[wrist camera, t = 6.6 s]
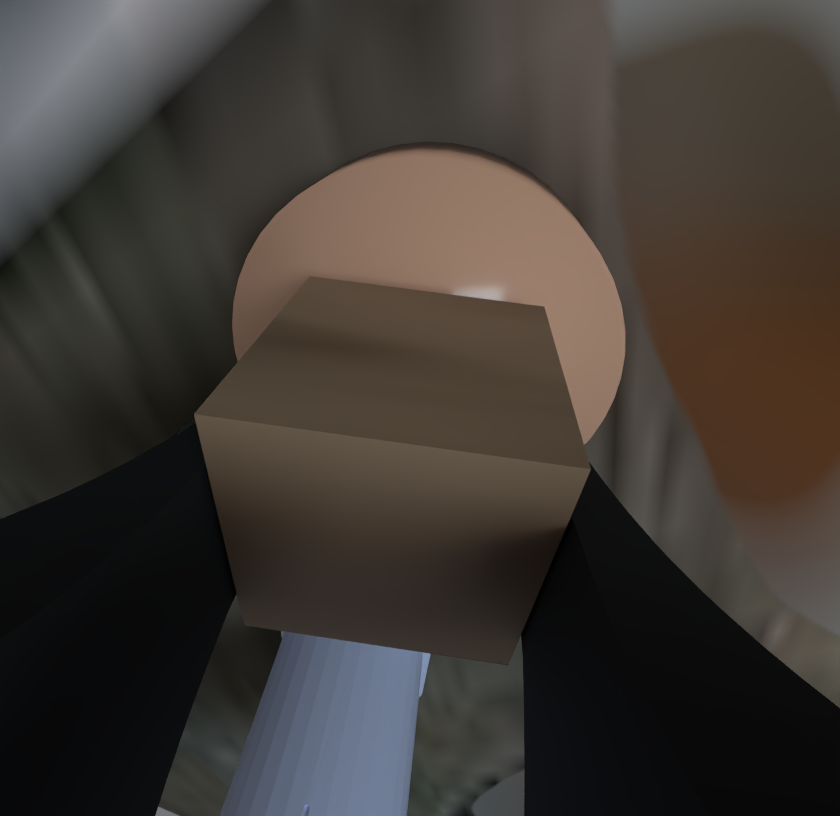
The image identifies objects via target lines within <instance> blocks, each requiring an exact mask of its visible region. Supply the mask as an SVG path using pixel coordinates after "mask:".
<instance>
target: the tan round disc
mask: <svg viewBox="0 0 840 816" xmlns="http://www.w3.org/2000/svg"><path fill="white" fill-rule="evenodd" d="M310 276H312V277H320V278H328V279H336V280H343V281H351V282H359V283H366V284H374V285H382V286H390V287H397V288H405V289H413V290H420V291H428V292H436V293H444V294H451V295H459V296H467V297H474V298H482V299H490V300H498V301H505V302H513V303H521V304H528V305H536V306H544V307H545V311H546V314H547V318H548V321H549V325H550V328H551V332H552V335H553V339H554V342H555V346H556V349H557V353H558V356H559V360H560V363H561V367H562V370H563V374H564V377H565V380H566V384H567V387H568V391H569V394H570V398H571V401H572V405H573V408H574V412H575V415H576V419H577V422H578V426H579V429H580V433H581V436H582V440H583V443H584V445H585V444H586V443H587V442H588V440H589V439H590V438H591V437H592V436H593V434H594V433H595V431H596V430H597V428H598V427H599V426H600V424H601V423H602V421H603V420H604V418H605V416H606V414H607V412H608V410H609V408H610V406H611V404H612V402H613V400H614V398H615V394H616V391H617V388H618V385H619V382H620V379H621V375H622V369H623V363H624V357H625V325H624V318H623V312H622V305H621V302H620V299H619V295H618V292H617V289H616V286H615V283H614V280H613V278H612V276H611V274H610V272H609V270H608V268H607V266H606V264H605V262H604V260H603V258H602V256H601V254H600V253H599V251H598V250H597V248H596V247H595V245H594V243H593V242H592V240H591V239H590V237H589V236H588V234H587V233H586V231H585V230H584V228H583V227H582V225H581V224H580V222H579V221H578V220H577V218H576V217H575V215H574V214H573V213H572V211H571V210H570V209H569V207H568V206H567V204H566V203H565V202H564V201H563V200H562V199H561V198H560V197H559V196H558V195H557V194H556V193H555V192H554V191H553V190H552V189H551V188H550V187H549V186H548V185H547V184H545V183H544V182H543V181H541V180H540V179H539V178H537V177H536V176H535V175H533V174H532V173H531V172H529V171H528V170H526V169H524V168H523V167H521V166H519V165H517V164H515V163H513V162H511V161H510V160H508V159H506V158H504V157H501V156H498V155H496V154H493V153H490V152H487V151H484V150H482V149H479V148H474V147H469V146H464V145H459V144H454V143H438V142H419V143H410V144H401V145H396V146H392V147H388V148H384V149H380V150H377V151H373V152H371V153H368V154H366V155H364V156H361V157H359V158H357V159H355V160H352V161H350V162H348V163H347V164H345V165H344V166H342V167H340V168H339V169H337V170H336V171H334V172H332V173H331V174H329V175H328V176H326V177H325V178H323V179H322V180H320V181H319V182H317V183H316V184H314V185H312V186H311V187H309V188H308V189H306V190H305V191H303V192H302V193H300V194H299V195H297V196H296V197H295V198H294V199H293V200H292V201H290V202H289V203H288V204H287V205H286V206H285V207H284V208H283V209H281V210H280V211H279V212H278V213H277V214H276V215H275V216H274V217H273V219H272V220H271V221H270V222H269V224H268V225H267V226H266V227H265V228H264V230H263V231H262V232H261V233H260V235H259V236H258V238H257V240H256V242H255V243H254V245H253V247H252V249H251V250H250V252H249V254H248V255H247V258H246V260H245V263H244V265H243V268H242V271H241V273H240V276H239V279H238V283H237V288H236V292H235V297H234V302H233V319H232V329H233V340H234V349H235V353H236V357H237V362H238V361H239V360H240V359H241V358H242V356H243V355H244V354H245V353H246V352H247V350H248V349H249V348H250V347H251V346H252V344H253V343H254V342H255V341H256V340H257V339H258V337H259V336H260V335H261V334H262V333H263V331H264V330H265V329H266V328H267V327H268V326H269V324H270V323H271V322H272V321H273V320H274V318H275V317H276V316H277V315H278V314H279V312H280V311H281V310H282V309H283V308H284V307H285V305H286V304H287V303H288V302H289V301H290V299H291V298H292V297H293V296H294V295H295V293H296V292H297V291H298V290H299V289H300V288H301V286H302V285H303V284H304V283H305V282H306V280H307V279H308V278H309V277H310Z"/></svg>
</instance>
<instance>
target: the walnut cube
mask: <svg viewBox="0 0 840 816" xmlns="http://www.w3.org/2000/svg"><path fill="white" fill-rule="evenodd" d="M194 417H195V421H196V425H197V430H198V434H199V438H200V442H201V446H202V451H203V455H204V459H205V463H206V467H207V472H208V476H209V480H210V484H211V488H212V492H213V497H214V501H215V505H216V509H217V513H218V518H219V522H220V526H221V530H222V534H223V539H224V543H225V547H226V551H227V555H228V559H229V564H230V568H231V572H232V576H233V580H234V585H235V589H236V593H237V597H238V601H239V606H240V610H241V614H242V618H243V622H244V626H251V627H258V628H264V629H271V630H278V631H284V632H291V633H297V634H304V635H311V636H317V637H324V638H330V639H337V640H344V641H350V642H357V643H363V644H370V645H377V646H383V647H390V648H397V649H403V650H410V651H416V652H423V653H430V654H436V655H443V656H449V657H456V658H463V659H469V660H476V661H482V662H489V663H496V664H502V665H508V664H509V662H510V659H511V657H512V655H513V652H514V650H515V648H516V645H517V643H518V640H519V638H520V636H521V633H522V631H523V629H524V626H525V624H526V622H527V619H528V617H529V614H530V612H531V610H532V607H533V605H534V603H535V600H536V598H537V596H538V593H539V591H540V589H541V586H542V584H543V581H544V579H545V577H546V574H547V572H548V570H549V567H550V565H551V563H552V560H553V558H554V555H555V553H556V551H557V548H558V546H559V544H560V541H561V539H562V537H563V534H564V532H565V529H566V527H567V525H568V522H569V520H570V518H571V515H572V513H573V511H574V508H575V506H576V504H577V501H578V499H579V496H580V494H581V492H582V489H583V487H584V485H585V482H586V480H587V478H588V475H589V473H590V470H591V468H590V464H589V461H588V457H587V454H586V450H585V447H584V443H583V440H582V436H581V433H580V429H579V426H578V422H577V419H576V415H575V412H574V408H573V405H572V401H571V398H570V394H569V391H568V387H567V384H566V380H565V377H564V374H563V370H562V367H561V363H560V360H559V356H558V353H557V349H556V346H555V342H554V339H553V335H552V332H551V328H550V325H549V321H548V318H547V314H546V311H545V307H544V306H536V305H528V304H521V303H513V302H505V301H498V300H490V299H482V298H474V297H467V296H459V295H451V294H444V293H436V292H428V291H420V290H413V289H405V288H397V287H390V286H382V285H374V284H366V283H359V282H351V281H343V280H336V279H328V278H320V277H312V276H310V277H309V278H308V279H307V280H306V282H305V283H304V284H303V285H302V286H301V288H300V289H299V290H298V291H297V292H296V293H295V295H294V296H293V297H292V298H291V299H290V301H289V302H288V303H287V304H286V305H285V307H284V308H283V309H282V310H281V311H280V312H279V314H278V315H277V316H276V317H275V318H274V320H273V321H272V322H271V323H270V324H269V326H268V327H267V328H266V329H265V330H264V331H263V333H262V334H261V335H260V336H259V337H258V339H257V340H256V341H255V342H254V343H253V344H252V346H251V347H250V348H249V349H248V350H247V352H246V353H245V354H244V355H243V356H242V358H241V359H240V360H239V361H238V362H237V363H236V365H235V366H234V367H233V368H232V369H231V371H230V372H229V373H228V374H227V375H226V377H225V378H224V379H223V380H222V381H221V382H220V384H219V385H218V386H217V387H216V388H215V390H214V391H213V392H212V393H211V394H210V396H209V397H208V398H207V399H206V400H205V401H204V403H203V404H202V405H201V406H200V407H199V409H198V410H197V411H196V412H195V413H194Z"/></svg>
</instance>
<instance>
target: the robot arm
mask: <svg viewBox="0 0 840 816" xmlns="http://www.w3.org/2000/svg"><path fill="white" fill-rule="evenodd" d="M589 464H590V462H589ZM590 468H591V470H590V473H589V475H588V478H587V480H586V482H585V485H584V487H583V489H582V492H581V494H580V496H579V499H578V501H577V504H576V506H575V508H574V511H573V513H572V515H571V518H570V520H569V522H568V525H567V527H566V529H565V532H564V534H563V537H562V539H561V541H560V544H559V546H558V548H557V551H556V553H555V555H554V558H553V560H552V563H551V565H550V567H549V570H548V572H547V574H546V577H545V579H544V581H543V584H542V586H541V589H540V591H539V593H538V596H537V598H536V600H535V603H534V605H533V607H532V610H531V612H530V614H529V617H528V619H527V622H526V624H525V626H524V629H523V631H522V633H521V638H522V651H523V679H524V746H525V799H524V800H525V802H524V803H525V804H524V806H525V807H524V809H525V810H524V811H525V812H524V816H840V708H839V707H838V706H836V705H835V704H834V703H832V702H831V701H830V700H829V699H827V698H826V697H825V696H824V695H822V694H821V693H820V692H818V691H817V690H816V689H815V688H813V687H812V686H811V685H810V684H808V683H807V682H806V681H804V680H803V679H802V678H801V677H799V676H798V675H797V674H796V673H795V672H793V671H792V670H791V669H790V668H789V667H787V666H786V665H785V664H784V663H782V662H781V661H780V660H779V659H778V658H776V657H775V656H774V655H773V654H772V653H770V652H769V651H768V650H767V649H766V648H764V647H763V646H762V645H761V644H760V643H759V642H758V641H756V640H755V639H754V638H753V637H752V636H751V635H750V634H749V633H747V632H746V631H745V630H744V629H743V628H742V627H741V626H740V625H738V624H737V623H736V622H735V621H734V620H733V619H732V618H730V617H729V616H728V615H727V614H726V613H725V612H724V611H723V610H721V609H720V608H719V607H718V606H717V605H716V604H715V603H714V602H713V601H712V600H711V599H710V598H709V597H708V596H706V595H705V594H704V593H703V592H702V591H701V590H700V589H699V588H698V587H697V586H696V585H695V584H694V583H693V582H692V581H691V580H690V579H689V578H688V577H687V576H686V575H685V574H684V573H683V572H682V571H681V570H680V569H679V568H678V567H677V566H676V565H675V564H674V563H673V562H672V561H671V560H670V559H669V558H668V557H667V556H666V554H665V553H664V552H663V551H662V550H661V549H660V548H659V547H658V546H657V545H656V544H655V543H654V542H653V540H652V539H651V538H650V537H649V536H648V535H647V534H646V532H645V531H644V530H643V529H642V528H641V527H640V526H639V524H638V523H637V522H636V521H635V520H634V519H633V517H632V516H631V515H630V514H629V513H628V512H627V510H626V509H625V508H624V507H623V505H622V504H621V503H620V502H619V501H618V499H617V498H616V497H615V496H614V494H613V493H612V492H611V490H610V489H609V488H608V487H607V485H606V484H605V483H604V481H603V480H602V479H601V477H600V476H599V475H598V473H597V472H596V471H595V469H594V468H593V467H592V465H591V464H590ZM235 595H236V589H235V585H234V580H233V576H232V572H231V568H230V564H229V559H228V555H227V551H226V547H225V543H224V539H223V534H222V530H221V526H220V522H219V518H218V513H217V509H216V505H215V501H214V497H213V492H212V488H211V484H210V480H209V476H208V472H207V467H206V463H205V459H204V455H203V451H202V446H201V442H200V438H199V434H198V430H197V425H196V423H195V424H193V425H192V426H190V427H189V428H187V429H185V430H184V431H182V432H180V433H179V434H177V435H175V436H173V437H171V438H170V439H168V440H166V441H164V442H163V443H161V444H159V445H157V446H156V447H154V448H152V449H150V450H149V451H147V452H145V453H143V454H142V455H140V456H138V457H136V458H135V459H133V460H131V461H129V462H127V463H125V464H123V465H121V466H119V467H117V468H115V469H113V470H111V471H109V472H107V473H105V474H103V475H101V476H99V477H97V478H95V479H93V480H91V481H89V482H87V483H84V484H82V485H80V486H78V487H76V488H74V489H72V490H70V491H67V492H65V493H63V494H61V495H58V496H56V497H54V498H51V499H49V500H46V501H44V502H41V503H39V504H37V505H34V506H32V507H29V508H27V509H24V510H22V511H19V512H17V513H14V514H12V515H10V516H7V517H5V518H2V519H0V816H155V814H156V811H157V808H158V805H159V802H160V799H161V796H162V792H163V789H164V786H165V783H166V780H167V777H168V774H169V771H170V768H171V765H172V762H173V759H174V757H175V754H176V751H177V748H178V745H179V742H180V739H181V736H182V733H183V730H184V728H185V725H186V722H187V719H188V716H189V713H190V710H191V708H192V705H193V702H194V699H195V697H196V694H197V691H198V689H199V686H200V683H201V680H202V678H203V675H204V672H205V670H206V667H207V664H208V661H209V659H210V656H211V654H212V651H213V649H214V646H215V643H216V641H217V638H218V636H219V633H220V631H221V628H222V626H223V623H224V620H225V618H226V615H227V613H228V610H229V608H230V606H231V604H232V602H233V599H234V597H235ZM281 636H282V641H281V644H280V647H279V649H278V652H277V655H276V658H275V661H274V664H273V666H272V669H271V672H270V675H269V678H268V681H267V683H266V686H265V689H264V692H263V695H262V697H261V700H260V703H259V706H258V709H257V712H256V714H255V717H254V720H253V723H252V726H251V729H250V731H249V734H248V737H247V740H246V743H245V746H244V748H243V751H242V754H241V757H240V760H239V762H238V765H237V768H236V771H235V774H234V777H233V779H232V782H231V785H230V788H229V791H228V794H227V796H226V799H225V802H224V805H223V808H222V810H221V813H220V816H407V807H408V798H409V788H410V778H411V768H412V758H413V748H414V738H415V729H416V719H417V709H418V699H419V697H420V696H421V695H422V692H423V687H424V682H425V678H426V673H427V668H428V664H429V659H430V653H423V652H416V651H410V650H403V649H397V648H390V647H383V646H377V645H370V644H363V643H357V642H350V641H344V640H337V639H330V638H324V637H317V636H311V635H304V634H297V633H291V632H284V631H281Z"/></svg>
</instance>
